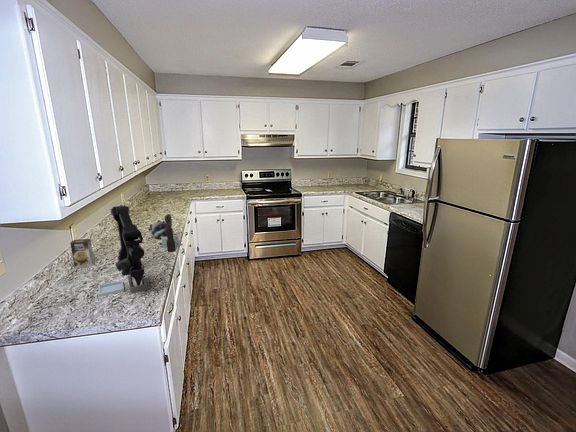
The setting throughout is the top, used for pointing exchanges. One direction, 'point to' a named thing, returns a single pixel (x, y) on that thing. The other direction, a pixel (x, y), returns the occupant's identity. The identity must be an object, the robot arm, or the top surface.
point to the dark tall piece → (169, 236)
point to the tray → (110, 288)
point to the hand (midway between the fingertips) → (137, 281)
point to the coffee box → (82, 253)
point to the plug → (135, 282)
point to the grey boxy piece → (137, 288)
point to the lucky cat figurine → (158, 229)
